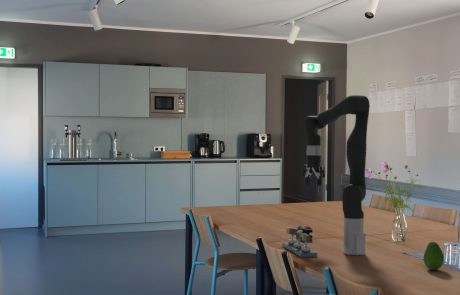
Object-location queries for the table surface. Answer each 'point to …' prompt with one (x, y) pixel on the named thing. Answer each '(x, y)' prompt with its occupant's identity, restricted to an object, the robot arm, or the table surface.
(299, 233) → the knob mid
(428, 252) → the avocado
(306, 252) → the level plate
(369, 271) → the table surface
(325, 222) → the table surface
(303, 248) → the knob near
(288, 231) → the knob far
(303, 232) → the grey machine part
